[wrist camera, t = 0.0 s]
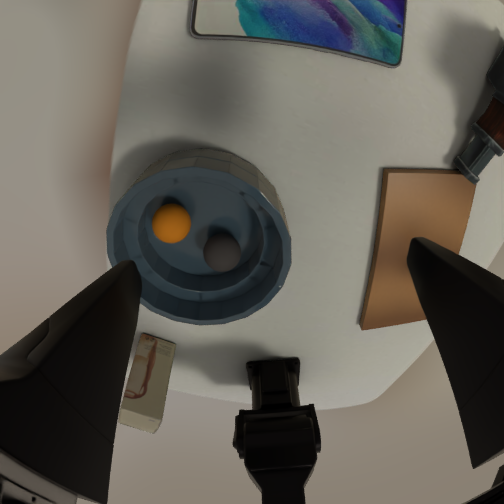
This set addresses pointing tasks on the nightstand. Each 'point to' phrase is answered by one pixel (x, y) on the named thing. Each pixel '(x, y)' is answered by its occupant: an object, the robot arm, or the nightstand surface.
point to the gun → (486, 129)
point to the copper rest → (404, 229)
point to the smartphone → (309, 25)
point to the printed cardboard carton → (147, 384)
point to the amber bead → (171, 223)
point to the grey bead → (222, 252)
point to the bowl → (203, 237)
